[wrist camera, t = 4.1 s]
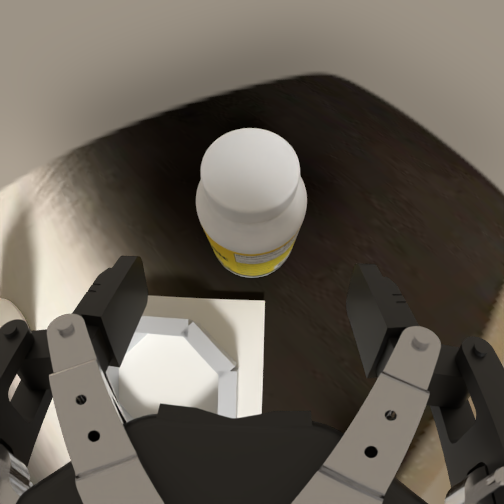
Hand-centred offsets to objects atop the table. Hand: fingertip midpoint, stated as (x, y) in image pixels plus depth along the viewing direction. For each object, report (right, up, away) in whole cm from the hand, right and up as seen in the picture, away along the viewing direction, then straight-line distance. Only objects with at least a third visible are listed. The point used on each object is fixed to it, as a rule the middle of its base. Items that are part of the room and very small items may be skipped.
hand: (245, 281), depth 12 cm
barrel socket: (-5, -8, +7) cm, 12 cm away
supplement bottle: (0, +2, +10) cm, 10 cm away
